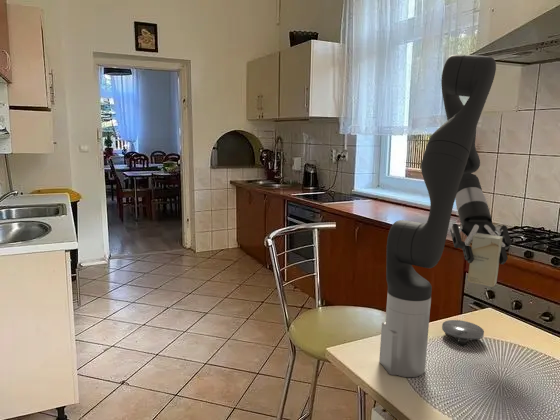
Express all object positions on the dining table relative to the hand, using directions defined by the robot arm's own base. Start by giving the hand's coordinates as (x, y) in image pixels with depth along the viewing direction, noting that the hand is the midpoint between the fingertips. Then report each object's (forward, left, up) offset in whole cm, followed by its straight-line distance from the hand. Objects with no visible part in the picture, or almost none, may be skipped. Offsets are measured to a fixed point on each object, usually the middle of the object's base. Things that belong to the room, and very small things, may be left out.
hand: (487, 262), depth 107 cm
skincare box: (0, +1, -6) cm, 6 cm away
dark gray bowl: (-2, +4, -22) cm, 22 cm away
